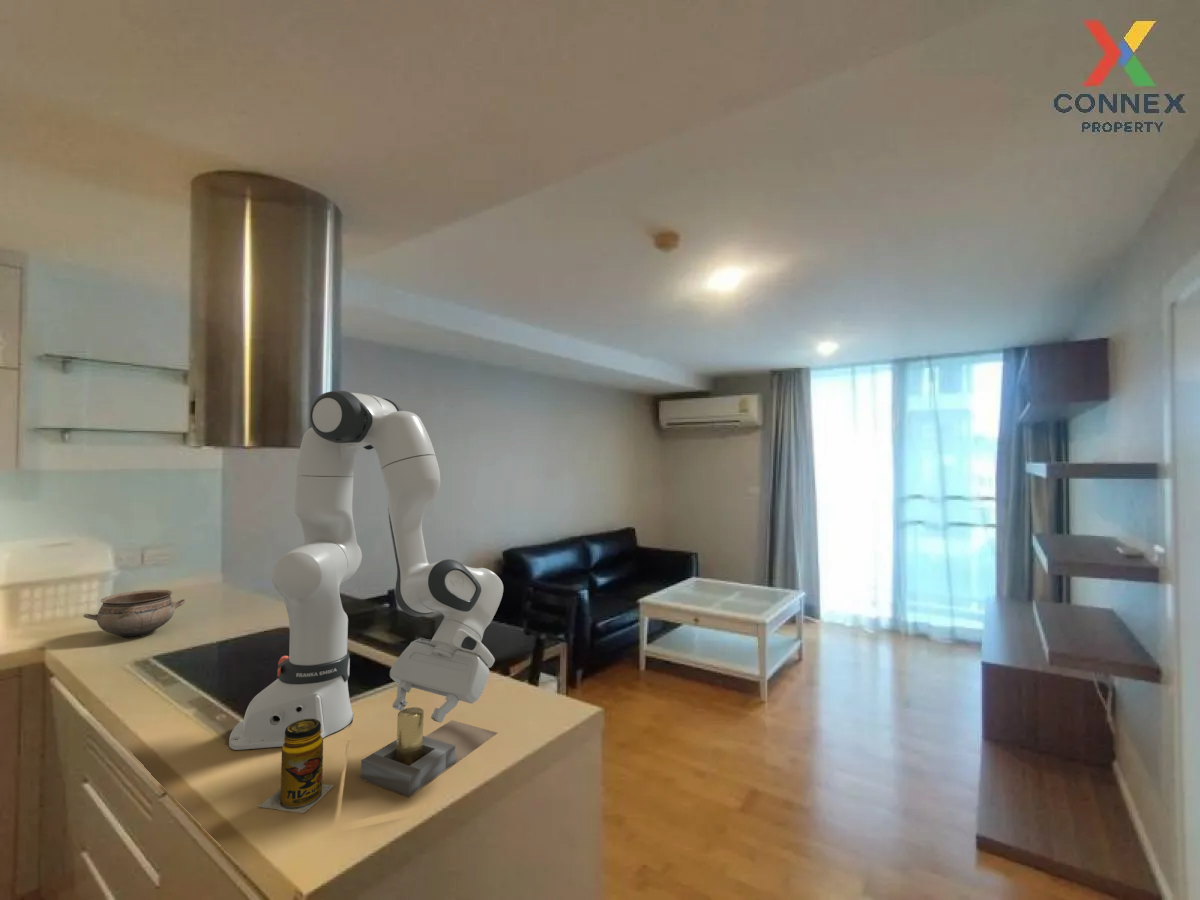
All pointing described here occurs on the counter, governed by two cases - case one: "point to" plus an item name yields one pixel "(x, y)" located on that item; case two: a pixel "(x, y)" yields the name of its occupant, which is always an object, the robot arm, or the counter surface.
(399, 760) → the translucent yellow cylinder
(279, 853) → the counter surface
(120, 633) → the cooking pot
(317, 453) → the robot arm
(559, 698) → the counter surface
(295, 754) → the condiment
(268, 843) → the counter surface
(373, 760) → the jig
